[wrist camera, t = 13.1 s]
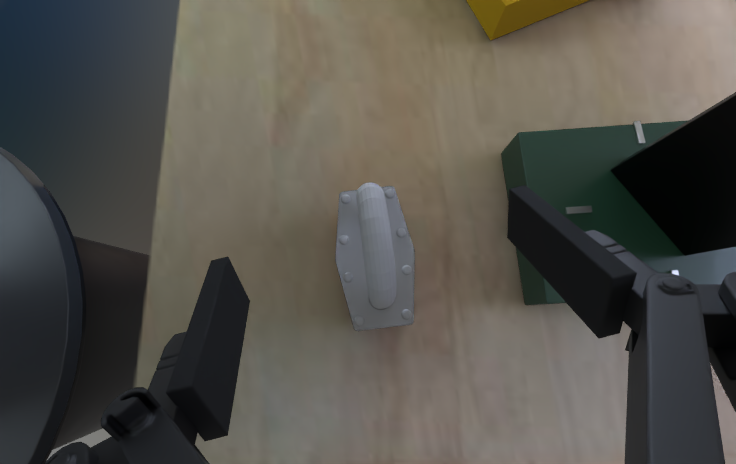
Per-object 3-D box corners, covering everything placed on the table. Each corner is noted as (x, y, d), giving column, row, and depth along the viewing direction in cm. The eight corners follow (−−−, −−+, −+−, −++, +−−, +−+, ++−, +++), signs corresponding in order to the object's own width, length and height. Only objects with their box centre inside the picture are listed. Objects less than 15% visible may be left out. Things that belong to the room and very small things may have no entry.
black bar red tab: (705, 240, 20) (929, 192, 12) (684, 256, 20) (896, 218, 12) (630, 155, 21) (789, 59, 13) (609, 170, 21) (757, 82, 13)
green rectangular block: (524, 306, 22) (549, 305, 19) (500, 152, 25) (518, 129, 21) (752, 290, 22) (812, 287, 19) (707, 137, 25) (755, 112, 22)
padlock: (336, 216, 24) (312, 149, 14) (398, 209, 24) (416, 136, 14) (348, 328, 22) (330, 341, 12) (414, 320, 22) (447, 327, 12)
